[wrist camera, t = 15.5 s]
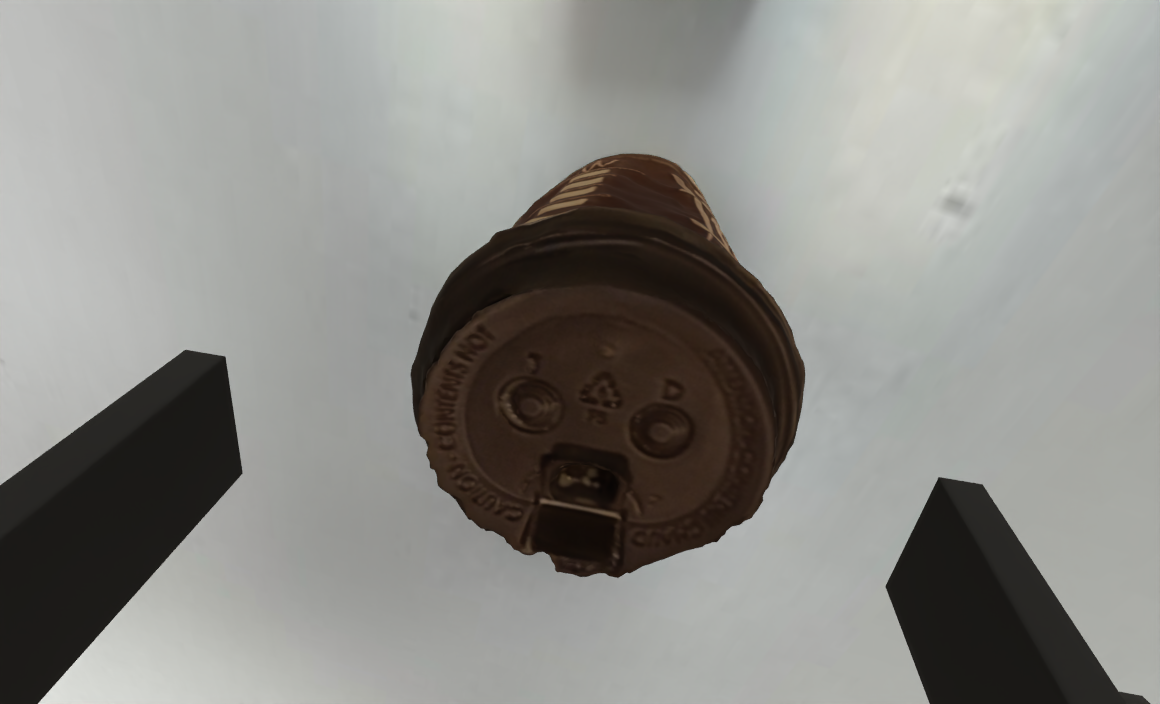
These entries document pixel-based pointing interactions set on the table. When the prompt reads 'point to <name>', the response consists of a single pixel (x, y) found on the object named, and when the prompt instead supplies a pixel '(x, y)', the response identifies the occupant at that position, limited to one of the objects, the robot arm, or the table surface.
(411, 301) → the table surface
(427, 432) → the coffee cup
